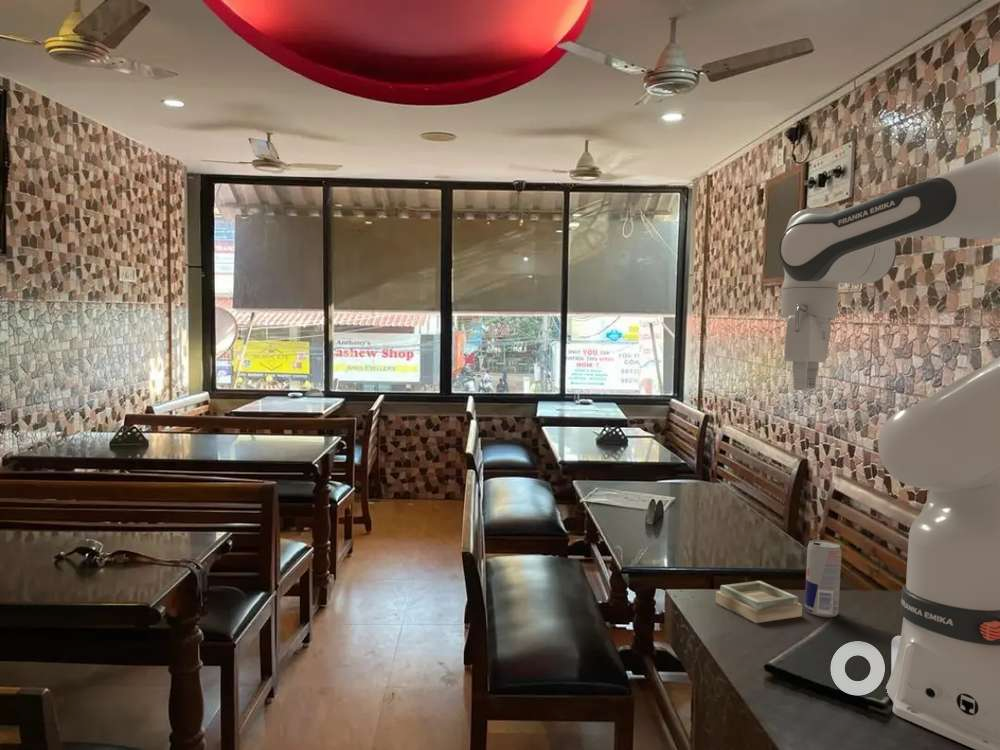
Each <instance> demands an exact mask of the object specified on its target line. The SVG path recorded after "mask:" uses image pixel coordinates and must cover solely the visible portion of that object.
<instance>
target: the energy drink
mask: <svg viewBox="0 0 1000 750" xmlns="http://www.w3.org/2000/svg"><path fill="white" fill-rule="evenodd" d="M806 550H807V551H806V554H807V555H806V571H805V591H804V592H805V593H804V594H805V595H804V609H805V611H806V612H807V613H809V614H811V615H813V616H817V617H820V618H821V617H823V618H834V617H837V615H838V614H839V606H840V605H839V604H840V588H841V586H840V585H841V571H842V570H841V569H842V568H841V565H842V549H841V544H839V543H836V542H833V541H829V540H823V539H812V540H809V541H808V545H807V549H806Z"/></svg>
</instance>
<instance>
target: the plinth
mask: <svg viewBox="0 0 1000 750" xmlns="http://www.w3.org/2000/svg"><path fill="white" fill-rule="evenodd" d="M719 587H720V588H719V589H720V590H719V591H718V590H717V591H716V592H715V603H716V604H718V605H719V606H721V607H723V608H725V609H727V610H729V611H731V612H733V613H734V614H735V613H736V614H737V615H738V616H741V617H743V618H745V619H747V620H749V621H751V622H753V623H754V624H760V623H767V622H771V621H772V622H773V621H780V620H785V619H793V618H798V617H799V618H800V617H802V615H803V604H801V603H800V602H799V596H797V595H795V594H792V593H790V592H788V591H785V590H784V589H783V590H782V589H780V588H778V587H775V586H774V585H771V584H769V583H766V582H764V581H762V580H755V581H754V580H753V581H745V582H738V583H730V584H721V585H720V586H719Z"/></svg>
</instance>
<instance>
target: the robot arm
mask: <svg viewBox="0 0 1000 750" xmlns="http://www.w3.org/2000/svg"><path fill="white" fill-rule="evenodd" d="M785 229H786V230H785V231H784V233H783V234H782V237H781V239H780V242H779V246H778V247H779V248H778V250H779V251H778V255H779V260H780V262H781V264H782V268H783V272H784V278H783V282H782V285H781V289H780V290H781V293H780V312H779V314H780V315H779V317H780V318H783V319H784V318H785V319H787V321H786V329H785V338H784V339H785V342H784V359H785V361H786V362H792V370H791V371H792V375H793V389H794V390H795V391H806V390H807V389H808V390H810V389H811V390H813V389H816V387H817V386H816V385H817V378H818V373H819V366H820V363H825V362H826V359H827V356H828V351H829V347H830V346H829V345H830V338H831V329H832V321H835V320H836V318H837V317H838V309H839V308H838V306H839V286H840V285H839V284H852V285H866V284H871V283H872V284H873V283H877V282H878V281H881V280H882V279H883V278H884V277H886V276H887V275H888V274H889V272H890V271H891V270H892V268H893V266H894V264H895V261H896V258H897V252H898V251H897V250H898V247H897V242H896V240H900V239H907V238H912V237H913V238H915V237H942V238H943V237H947V238H959V239H971V240H994V239H1000V149H999V150H997V151H995V152H992V153H989V154H988V155H986V156H983V157H981V158H978V159H976V160H973V161H971V162H969V163H966V164H964V165H962V166H959V167H956V168H954V169H951V170H949V171H946V172H944V173H940V174H938V175H935V176H933V177H930V178H927V179H925V180H922V181H919V182H917V183H914V184H911V185H907V186H905V187H904V186H903V187H901V188H898V189H895V190H893V191H889V192H887V193H884V194H881V195H879V196H876V197H874V198H871V199H869V200H866V201H863V202H860V203H858V204H855V205H852V206H850V207H847V208H844V209H842V210H839V211H838V210H837V209H835V208H833V207H829V206H816V207H808V208H805V209H801V210H799V211H798V212H796V213H795V214H793V215H791V217H790V218H789V221H788V223H787V226H786V228H785ZM879 431H880V432H879V433H878V437H877V438H878V439H877V450H878V455H879V459H880V461H881V463H882V466H883V467H884V469H885V470H886V471H887V472H888V473H889V474H890V475H891V477H893V478H894V479H895V480H896V481H898V482H900V483H902V484H904V485H907V486H910V487H913V488H917V489H921V490H926V491H929V493H928V496H927V498H926V502H925V504H924V505H923V508H922V510H921V512H920V513H919V514H918V515H917V517H916V518H915V519H914V520H913V521H912V524H911V525H910V528H909V531H908V542H907V543H908V544H907V563H906V578H905V579H906V580H905V582H906V583H905V584H904V585H903V586H902V588H901V598H900V615H901V620H902V625H901V633H900V639H899V645H898V650H897V654H896V658H895V661H894V665H893V669H892V671H891V674H890V676H889V679H888V681H887V684H886V686H885V690H886V689H887V692H886V694H887V693H888V694H887V695H888V697H889V698H890V699H891V701H892V703H893V705H892V712H893V714H895V715H896V716H897V717H900V718H902V719H904V720H907V721H908V722H912V723H913V724H916V725H918V726H921V727H922V728H925V729H927V730H929V731H932V732H934V733H936V734H938V735H941V736H943V737H946V738H948V739H950V740H952V741H955V742H957V743H959V744H961V745H965V746H966V747H969V748H971V749H974V750H1000V355H999V356H998V357H997V358H994V359H993V360H991V361H989V362H988V363H986V364H984V365H983V366H981V367H978V368H977V369H975V370H973V371H971V372H970V373H968V374H965V375H964V376H962V377H960V378H959V379H957V380H955V381H954V382H952V383H950V384H948V385H947V386H945V387H944V388H942V389H940V390H939V391H937V392H935V393H934V394H932V395H931V396H929V397H927V398H925V399H923V400H921V401H920V402H918V403H916V404H914V405H911V406H909V407H907V408H904V409H902V410H900V411H897V412H896V413H894V414H893V415H891V416H890V417H888V418H887V420H885V422H884V423H883V425H882V427H881V429H880V430H879Z"/></svg>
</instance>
